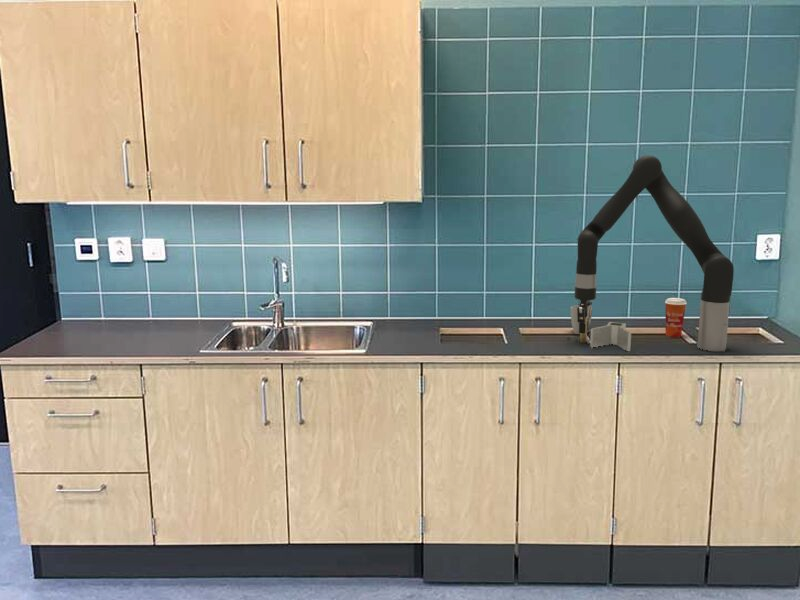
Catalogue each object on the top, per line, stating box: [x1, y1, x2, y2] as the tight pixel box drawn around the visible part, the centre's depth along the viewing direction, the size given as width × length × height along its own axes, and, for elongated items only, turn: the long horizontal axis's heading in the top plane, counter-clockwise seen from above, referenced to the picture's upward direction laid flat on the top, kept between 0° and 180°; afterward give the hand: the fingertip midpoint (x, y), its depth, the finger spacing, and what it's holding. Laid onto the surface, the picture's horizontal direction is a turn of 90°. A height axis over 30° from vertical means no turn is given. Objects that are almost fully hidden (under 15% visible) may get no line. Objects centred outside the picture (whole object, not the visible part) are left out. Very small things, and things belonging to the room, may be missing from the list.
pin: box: [579, 314, 588, 343], centre depth 264 cm, size 3×3×13 cm
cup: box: [570, 305, 593, 335], centre depth 278 cm, size 8×8×10 cm
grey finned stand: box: [589, 321, 632, 352], centre depth 258 cm, size 14×14×7 cm
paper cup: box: [664, 297, 688, 338], centre depth 272 cm, size 8×8×14 cm
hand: (583, 331), depth 264 cm, fingers open, 4 cm apart
